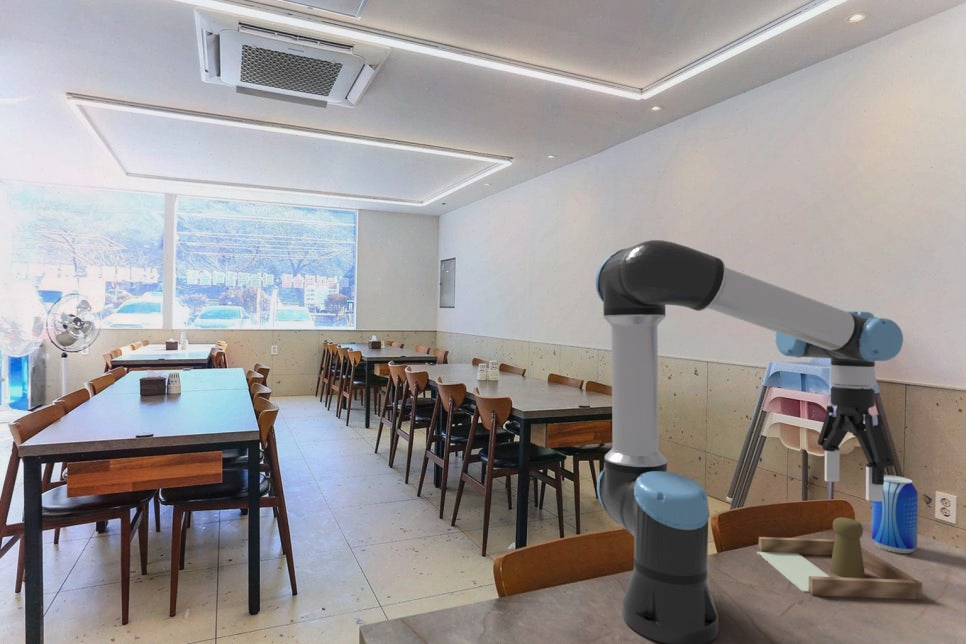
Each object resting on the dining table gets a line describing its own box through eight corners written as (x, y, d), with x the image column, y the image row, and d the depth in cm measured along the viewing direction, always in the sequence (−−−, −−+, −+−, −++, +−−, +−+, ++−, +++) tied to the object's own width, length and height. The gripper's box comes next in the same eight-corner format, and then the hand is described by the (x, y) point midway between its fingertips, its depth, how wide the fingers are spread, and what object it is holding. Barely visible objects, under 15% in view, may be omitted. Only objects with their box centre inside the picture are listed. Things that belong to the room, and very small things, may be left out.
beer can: (877, 538, 131) (878, 472, 131) (921, 549, 125) (921, 479, 125) (866, 546, 126) (867, 477, 126) (911, 558, 119) (912, 485, 120)
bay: (812, 595, 101) (812, 579, 101) (758, 550, 122) (758, 536, 122) (922, 599, 100) (922, 583, 100) (849, 553, 121) (849, 540, 121)
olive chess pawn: (871, 581, 107) (871, 525, 107) (837, 578, 108) (837, 522, 109) (856, 568, 113) (857, 515, 113) (824, 565, 114) (825, 513, 115)
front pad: (802, 591, 102) (802, 590, 102) (756, 552, 120) (756, 551, 120) (851, 593, 102) (851, 592, 102) (797, 554, 120) (797, 553, 120)
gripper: (917, 393, 98) (917, 510, 98) (834, 381, 123) (833, 475, 123) (874, 392, 99) (874, 509, 98) (800, 380, 124) (800, 474, 123)
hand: (851, 490), depth 111 cm, fingers open, 13 cm apart
